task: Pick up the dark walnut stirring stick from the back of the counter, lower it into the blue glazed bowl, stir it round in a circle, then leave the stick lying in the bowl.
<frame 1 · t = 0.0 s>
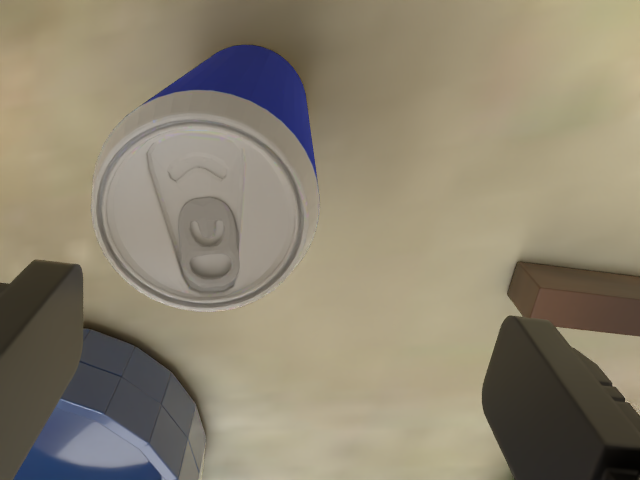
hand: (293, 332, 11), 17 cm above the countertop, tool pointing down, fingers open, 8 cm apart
beverage can: (249, 102, 26), on the countertop
bowl: (72, 434, 33), on the countertop
stick: (592, 288, 31), on the countertop
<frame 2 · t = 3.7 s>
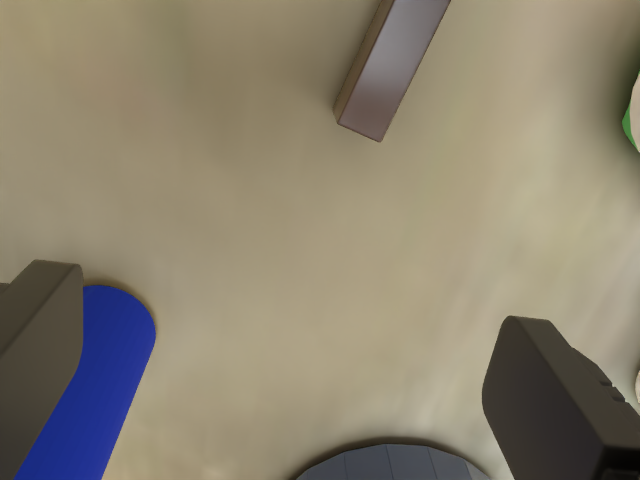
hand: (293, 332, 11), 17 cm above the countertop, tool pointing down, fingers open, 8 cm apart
beverage can: (108, 322, 30), on the countertop
stick: (396, 22, 25), on the countertop
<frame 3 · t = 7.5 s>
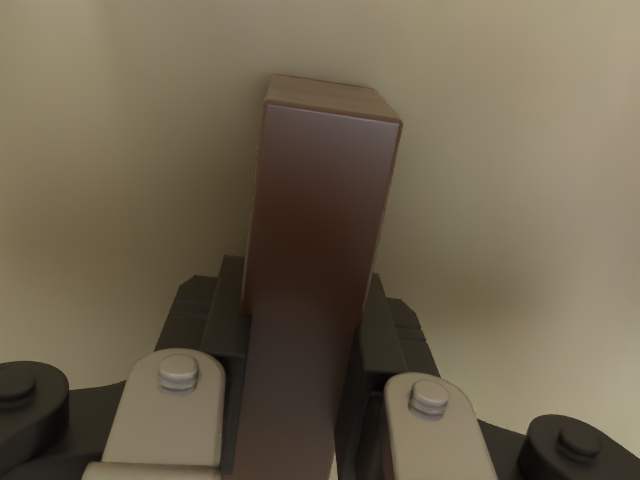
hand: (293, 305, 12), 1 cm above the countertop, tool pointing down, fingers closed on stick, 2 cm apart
stick: (292, 293, 12), on the countertop, touching gripper
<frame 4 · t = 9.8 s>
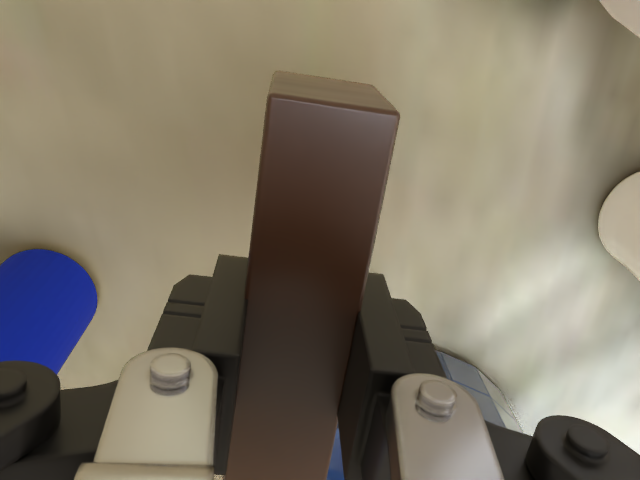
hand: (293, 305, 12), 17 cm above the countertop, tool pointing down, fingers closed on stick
beverage can: (52, 287, 30), on the countertop
bowl: (387, 446, 35), on the countertop
stick: (294, 282, 13), point 16 cm above the countertop, touching gripper
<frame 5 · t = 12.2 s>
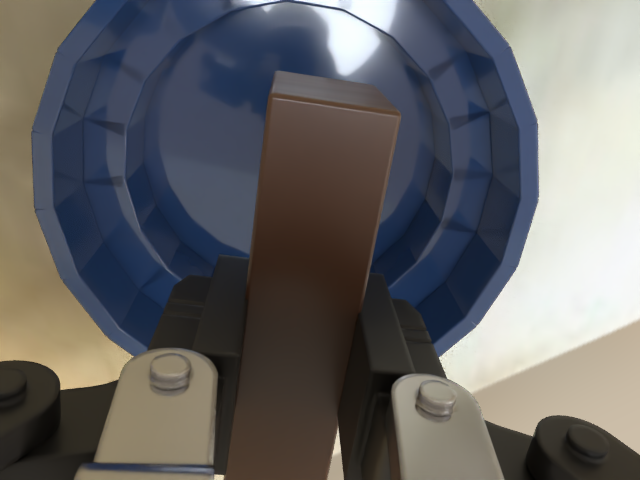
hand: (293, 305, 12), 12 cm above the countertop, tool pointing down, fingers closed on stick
bowl: (290, 154, 23), on the countertop
stick: (294, 283, 13), point 11 cm above the countertop, touching gripper
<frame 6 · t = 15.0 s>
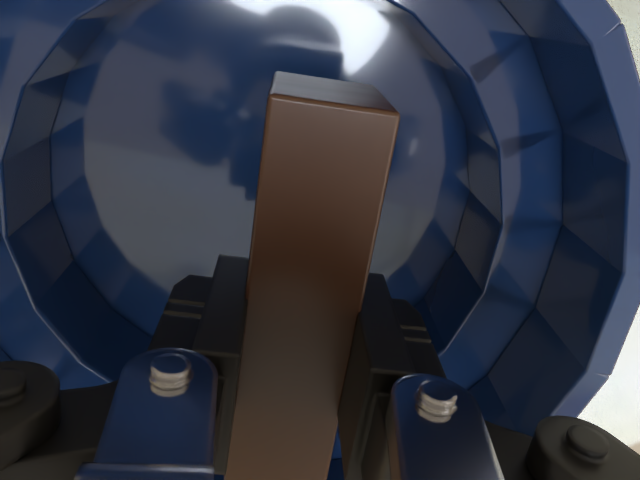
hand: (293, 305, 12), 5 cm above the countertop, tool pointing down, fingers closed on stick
bowl: (264, 188, 16), on the countertop
stick: (294, 283, 13), point 4 cm above the countertop, touching gripper
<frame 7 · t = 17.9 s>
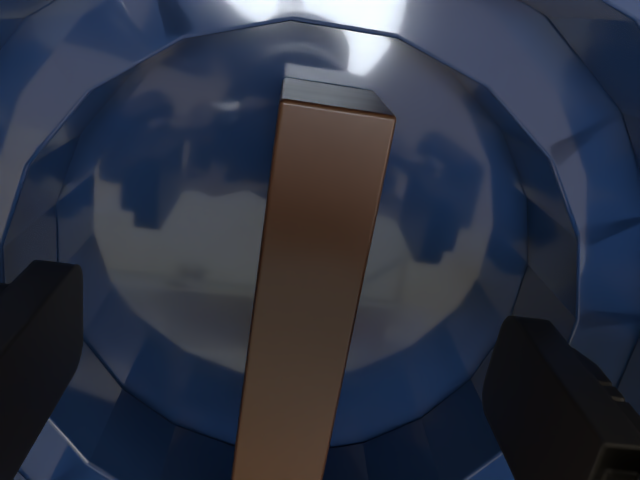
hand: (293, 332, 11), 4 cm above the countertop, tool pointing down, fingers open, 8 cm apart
bowl: (296, 257, 15), on the countertop
stick: (299, 271, 14), point 1 cm above the countertop, touching bowl
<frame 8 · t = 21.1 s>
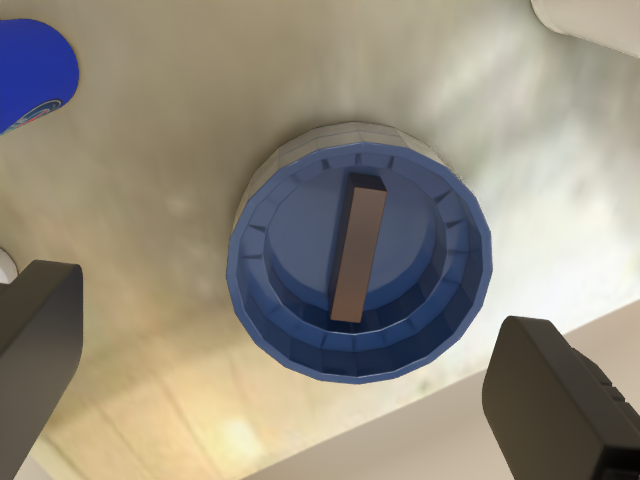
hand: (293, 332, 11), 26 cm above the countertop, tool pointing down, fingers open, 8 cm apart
beverage can: (38, 65, 34), on the countertop
bowl: (350, 234, 39), on the countertop
stick: (352, 239, 38), point 1 cm above the countertop, touching bowl
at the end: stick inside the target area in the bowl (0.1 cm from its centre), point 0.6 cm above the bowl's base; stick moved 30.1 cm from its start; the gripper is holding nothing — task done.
